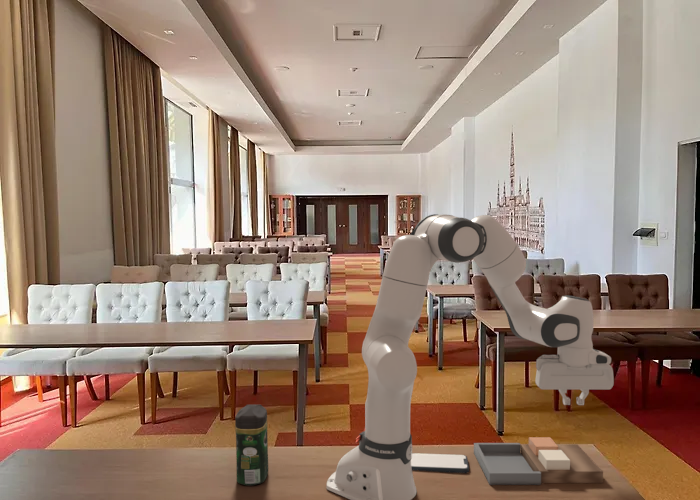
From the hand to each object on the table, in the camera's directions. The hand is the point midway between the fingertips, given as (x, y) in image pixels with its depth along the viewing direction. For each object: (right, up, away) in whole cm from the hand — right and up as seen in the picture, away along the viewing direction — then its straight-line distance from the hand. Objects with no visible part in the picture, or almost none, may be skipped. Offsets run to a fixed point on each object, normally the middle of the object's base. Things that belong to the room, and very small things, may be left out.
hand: (573, 404), depth 149 cm
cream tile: (-8, -14, -7) cm, 17 cm away
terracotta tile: (-8, -13, +1) cm, 15 cm away
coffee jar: (-87, -17, -7) cm, 89 cm away
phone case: (-37, -17, 0) cm, 41 cm away
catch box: (-19, -16, -3) cm, 25 cm away
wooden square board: (-5, -16, -3) cm, 17 cm away
